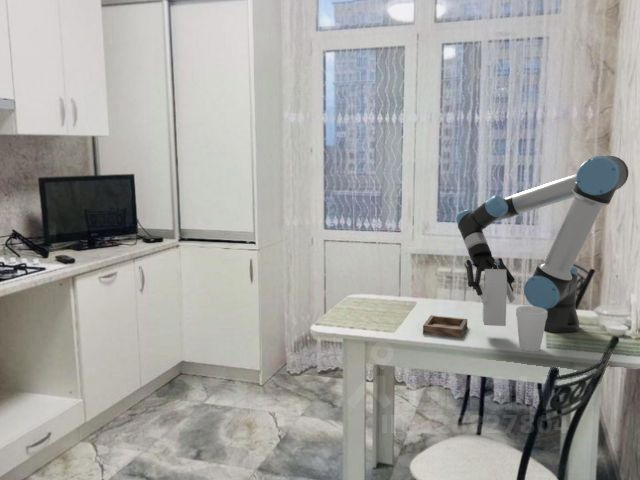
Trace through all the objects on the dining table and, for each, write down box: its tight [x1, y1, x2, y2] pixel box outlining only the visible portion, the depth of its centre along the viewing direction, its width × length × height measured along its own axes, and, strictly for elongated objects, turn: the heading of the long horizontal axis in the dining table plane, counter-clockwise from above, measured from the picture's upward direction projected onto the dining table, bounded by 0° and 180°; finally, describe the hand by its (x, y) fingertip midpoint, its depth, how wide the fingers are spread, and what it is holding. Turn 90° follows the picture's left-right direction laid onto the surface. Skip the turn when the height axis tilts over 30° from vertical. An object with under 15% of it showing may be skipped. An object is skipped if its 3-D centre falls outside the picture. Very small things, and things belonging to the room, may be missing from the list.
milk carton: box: [482, 268, 508, 327], centre depth 201 cm, size 7×7×19 cm
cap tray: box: [422, 314, 468, 339], centre depth 210 cm, size 13×13×3 cm
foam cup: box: [515, 305, 548, 353], centre depth 190 cm, size 10×9×13 cm
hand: (499, 301), depth 198 cm, fingers closed on milk carton, 9 cm apart
